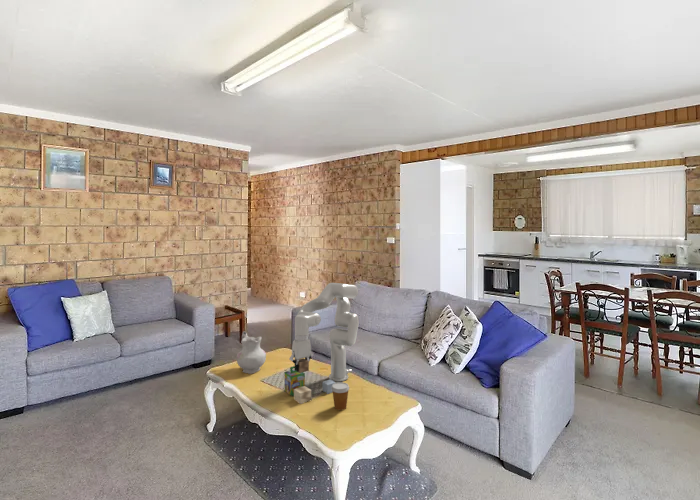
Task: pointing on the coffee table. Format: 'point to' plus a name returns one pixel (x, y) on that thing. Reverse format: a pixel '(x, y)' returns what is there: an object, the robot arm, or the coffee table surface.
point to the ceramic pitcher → (251, 354)
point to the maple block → (302, 394)
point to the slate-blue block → (327, 386)
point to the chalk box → (293, 380)
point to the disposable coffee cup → (340, 395)
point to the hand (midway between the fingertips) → (301, 369)
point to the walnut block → (303, 365)
